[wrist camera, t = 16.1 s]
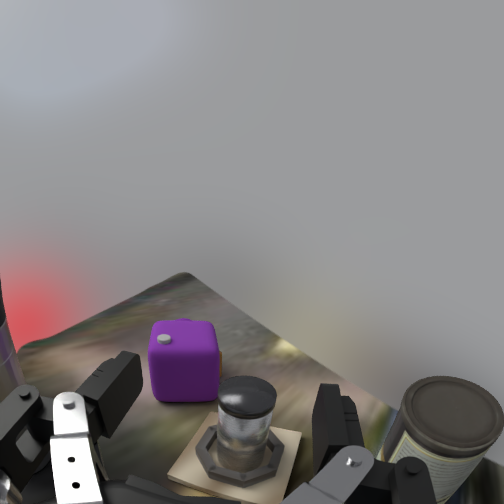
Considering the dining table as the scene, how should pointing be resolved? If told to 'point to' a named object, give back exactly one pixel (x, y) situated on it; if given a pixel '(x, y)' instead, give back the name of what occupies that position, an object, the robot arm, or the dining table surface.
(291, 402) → the dining table surface
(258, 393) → the black lidded glass jar
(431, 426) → the coffee can
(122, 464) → the dining table surface
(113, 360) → the robot arm
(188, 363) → the toy camera
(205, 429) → the beige board with ring
